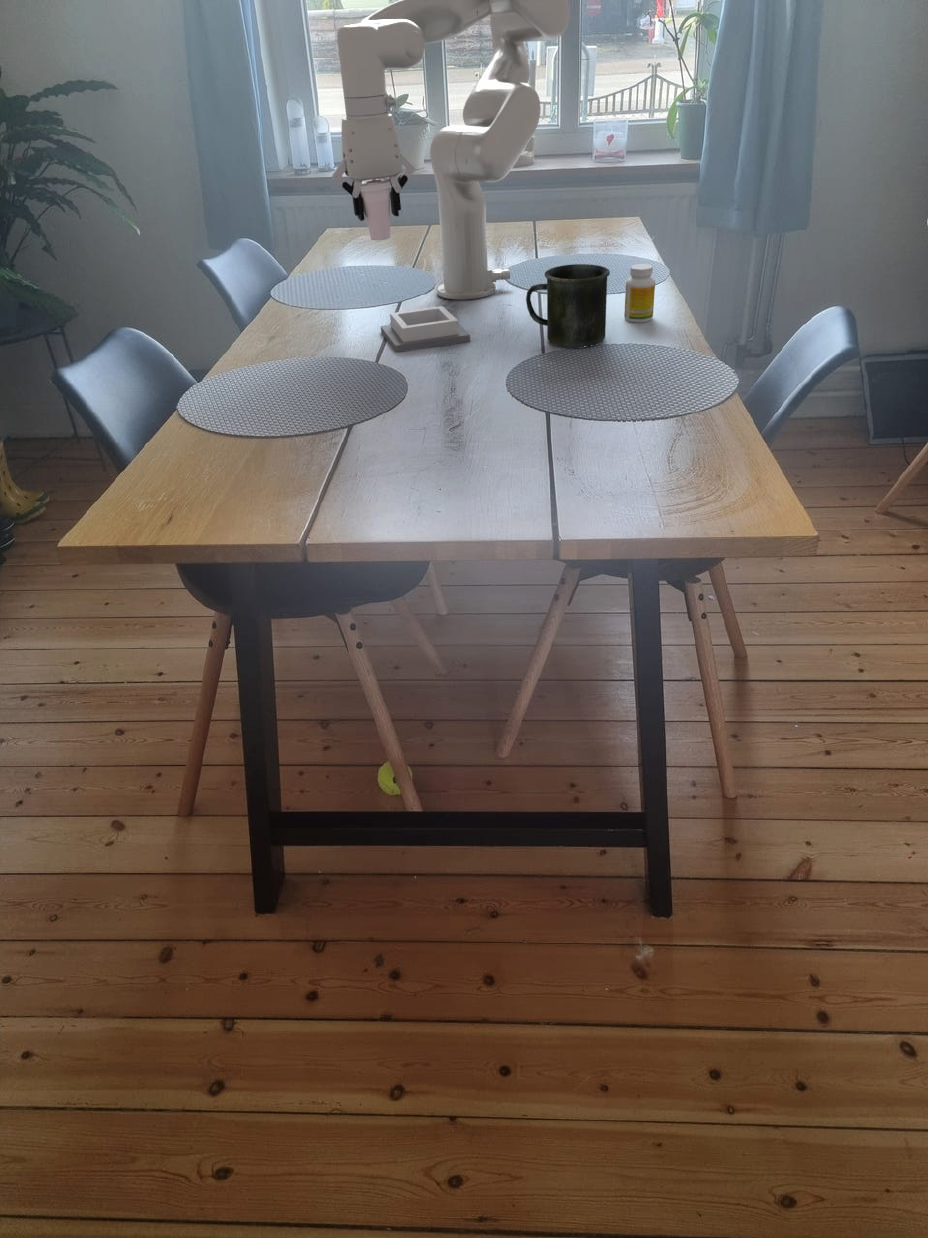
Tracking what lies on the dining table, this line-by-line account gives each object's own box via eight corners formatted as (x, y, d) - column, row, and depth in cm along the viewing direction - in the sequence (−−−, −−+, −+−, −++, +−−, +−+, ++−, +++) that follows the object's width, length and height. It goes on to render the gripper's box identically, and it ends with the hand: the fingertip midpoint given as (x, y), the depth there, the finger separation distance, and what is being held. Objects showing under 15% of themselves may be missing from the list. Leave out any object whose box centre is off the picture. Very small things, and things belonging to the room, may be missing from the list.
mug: (606, 350, 158) (609, 279, 151) (523, 350, 160) (522, 280, 153) (608, 331, 167) (610, 263, 160) (529, 331, 169) (528, 264, 162)
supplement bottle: (618, 318, 173) (620, 265, 167) (641, 313, 175) (644, 261, 169) (635, 324, 169) (638, 271, 163) (658, 319, 171) (662, 266, 165)
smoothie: (402, 233, 173) (392, 152, 165) (389, 241, 168) (378, 158, 160) (372, 233, 175) (360, 153, 167) (358, 242, 170) (346, 160, 162)
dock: (451, 322, 176) (449, 302, 174) (470, 341, 166) (469, 320, 164) (381, 332, 174) (379, 312, 172) (396, 352, 163) (394, 331, 161)
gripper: (408, 101, 164) (417, 208, 174) (315, 110, 161) (329, 219, 171) (419, 104, 158) (427, 215, 168) (321, 114, 155) (336, 226, 165)
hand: (378, 216), depth 169 cm, fingers closed on smoothie, 5 cm apart
